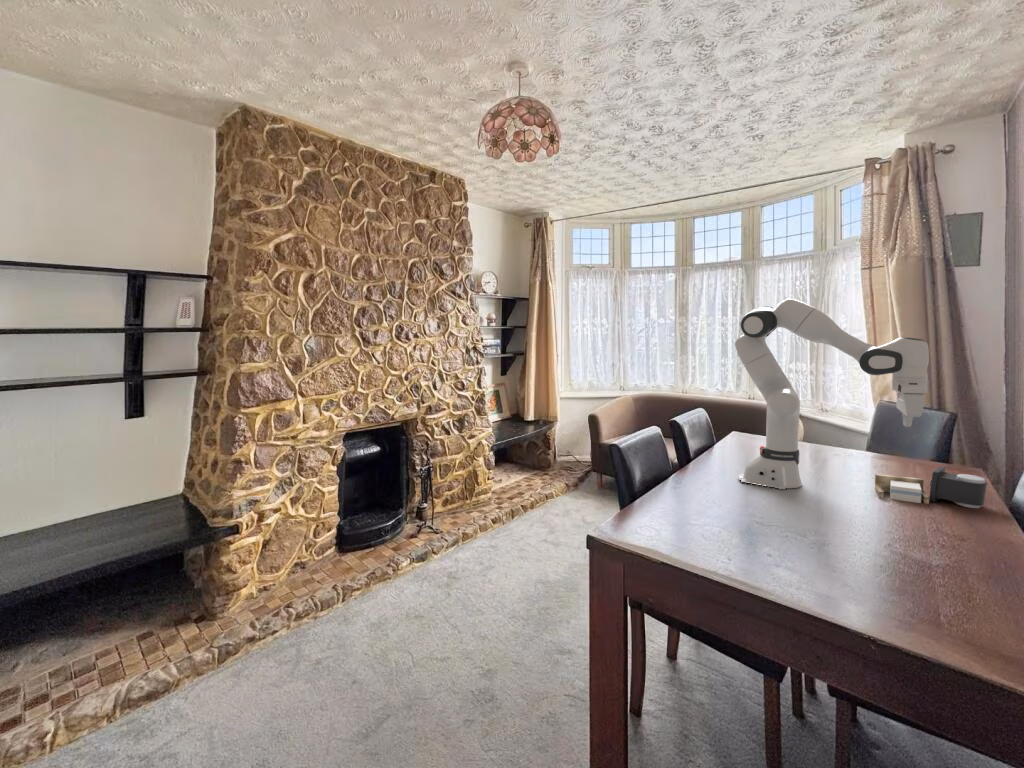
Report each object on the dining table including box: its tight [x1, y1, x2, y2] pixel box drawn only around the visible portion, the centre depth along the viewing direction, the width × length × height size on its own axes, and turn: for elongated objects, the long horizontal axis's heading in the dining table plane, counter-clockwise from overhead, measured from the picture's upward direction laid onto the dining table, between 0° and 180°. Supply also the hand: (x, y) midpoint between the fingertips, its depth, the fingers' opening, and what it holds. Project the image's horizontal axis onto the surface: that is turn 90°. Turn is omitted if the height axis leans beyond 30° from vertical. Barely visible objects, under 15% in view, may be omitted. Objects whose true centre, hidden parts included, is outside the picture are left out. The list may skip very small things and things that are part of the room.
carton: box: [889, 480, 922, 504], centre depth 160 cm, size 8×8×5 cm
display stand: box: [874, 473, 930, 505], centre depth 162 cm, size 13×10×6 cm
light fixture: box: [929, 466, 988, 509], centre depth 154 cm, size 11×13×11 cm
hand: (907, 426), depth 152 cm, fingers closed
